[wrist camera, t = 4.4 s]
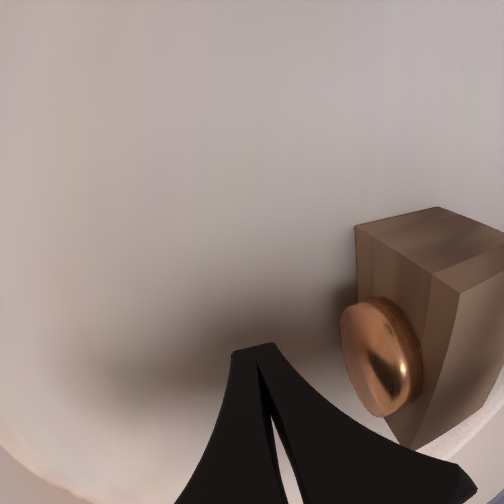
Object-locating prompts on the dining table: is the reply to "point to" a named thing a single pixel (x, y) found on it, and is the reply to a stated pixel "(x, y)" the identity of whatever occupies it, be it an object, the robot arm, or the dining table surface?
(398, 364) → the pin
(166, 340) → the dining table surface
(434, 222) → the block
